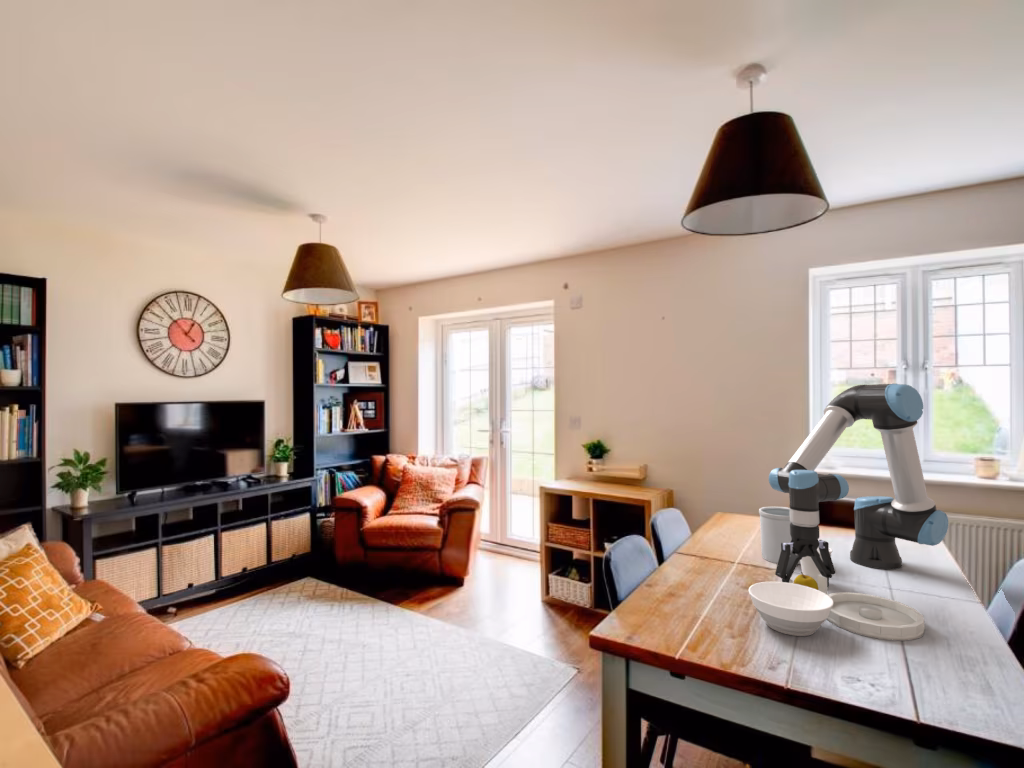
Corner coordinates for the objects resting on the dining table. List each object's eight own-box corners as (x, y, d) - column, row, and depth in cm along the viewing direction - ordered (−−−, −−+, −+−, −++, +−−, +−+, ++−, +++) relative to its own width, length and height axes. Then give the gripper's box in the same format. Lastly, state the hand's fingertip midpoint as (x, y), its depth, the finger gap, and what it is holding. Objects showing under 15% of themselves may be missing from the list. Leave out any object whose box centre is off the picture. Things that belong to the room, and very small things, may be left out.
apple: (795, 595, 155) (794, 568, 155) (819, 599, 152) (819, 572, 152) (792, 602, 150) (791, 574, 150) (817, 607, 146) (816, 578, 147)
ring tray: (871, 601, 150) (871, 589, 150) (947, 636, 128) (947, 623, 128) (803, 607, 146) (802, 595, 146) (869, 644, 124) (869, 631, 125)
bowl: (834, 652, 121) (833, 616, 121) (743, 633, 131) (743, 600, 131) (834, 621, 137) (833, 589, 138) (754, 606, 148) (753, 576, 148)
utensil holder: (810, 567, 179) (809, 516, 180) (763, 563, 184) (761, 514, 184) (801, 554, 193) (800, 507, 193) (757, 551, 198) (756, 505, 198)
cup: (838, 589, 159) (837, 553, 159) (803, 587, 161) (802, 552, 161) (826, 578, 169) (825, 544, 169) (792, 576, 171) (792, 542, 171)
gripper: (829, 518, 157) (830, 592, 156) (760, 522, 153) (762, 598, 153) (849, 524, 149) (851, 602, 149) (777, 529, 146) (779, 608, 145)
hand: (806, 600), depth 151 cm, fingers open, 10 cm apart
